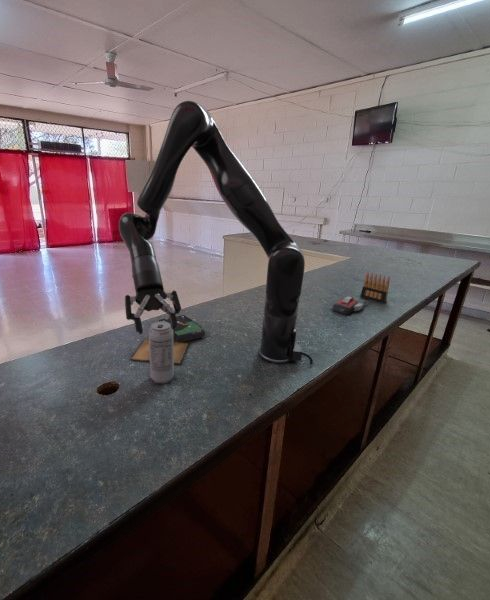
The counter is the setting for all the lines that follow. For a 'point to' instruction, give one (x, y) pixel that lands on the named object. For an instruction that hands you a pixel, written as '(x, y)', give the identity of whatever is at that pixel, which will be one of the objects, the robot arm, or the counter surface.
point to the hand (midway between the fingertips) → (157, 330)
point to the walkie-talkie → (348, 305)
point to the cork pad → (144, 354)
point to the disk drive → (186, 329)
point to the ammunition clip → (375, 288)
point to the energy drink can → (161, 352)
